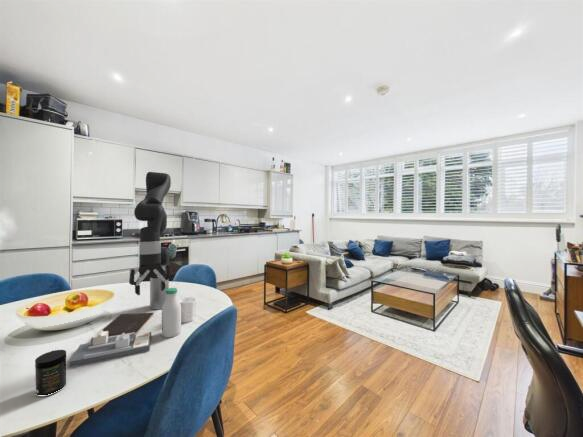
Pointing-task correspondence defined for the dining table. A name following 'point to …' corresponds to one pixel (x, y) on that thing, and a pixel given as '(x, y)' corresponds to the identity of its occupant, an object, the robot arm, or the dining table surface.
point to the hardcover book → (127, 324)
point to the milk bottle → (171, 314)
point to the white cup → (187, 309)
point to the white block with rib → (122, 341)
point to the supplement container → (50, 372)
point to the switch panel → (110, 349)
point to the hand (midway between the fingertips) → (150, 292)
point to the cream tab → (100, 338)
